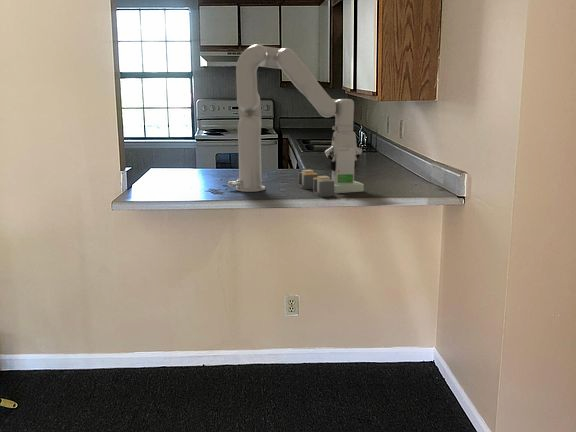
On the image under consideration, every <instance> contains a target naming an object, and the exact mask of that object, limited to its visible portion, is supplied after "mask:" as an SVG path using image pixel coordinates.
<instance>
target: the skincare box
mask: <svg viewBox="0 0 576 432" xmlns="http://www.w3.org/2000/svg"><path fill="white" fill-rule="evenodd" d="M337 151H338V156H336V159H335V162H336V170H335V171H332V170H331V180H332V181H334V184H354V181H355V170H354V165H355V148H338V150H337Z"/></svg>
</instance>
